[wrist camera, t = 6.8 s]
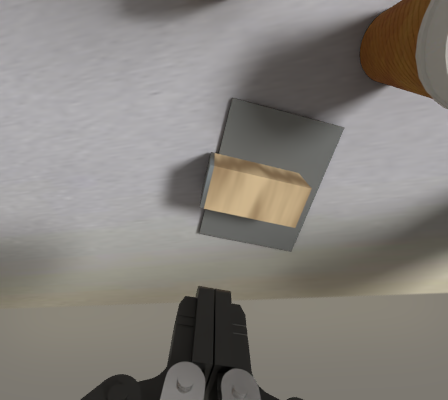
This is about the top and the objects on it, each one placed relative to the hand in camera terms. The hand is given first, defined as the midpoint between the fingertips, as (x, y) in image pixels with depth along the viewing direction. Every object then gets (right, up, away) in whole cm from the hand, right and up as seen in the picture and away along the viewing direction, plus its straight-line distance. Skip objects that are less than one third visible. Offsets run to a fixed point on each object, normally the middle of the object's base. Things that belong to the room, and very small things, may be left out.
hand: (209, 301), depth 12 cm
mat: (+5, +7, +18) cm, 20 cm away
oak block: (-1, +7, +15) cm, 16 cm away
